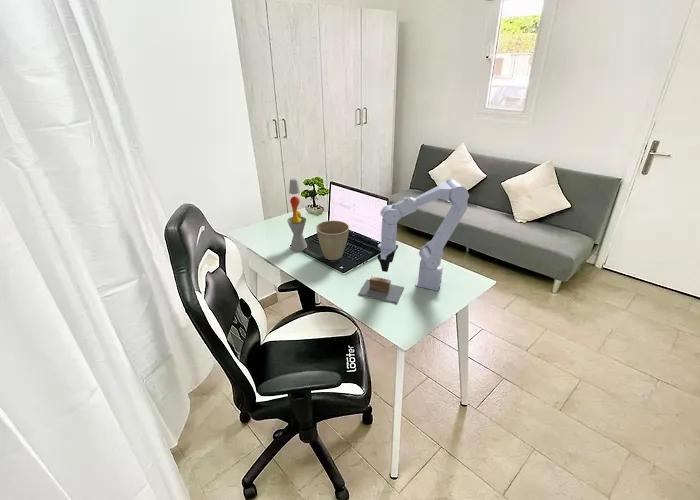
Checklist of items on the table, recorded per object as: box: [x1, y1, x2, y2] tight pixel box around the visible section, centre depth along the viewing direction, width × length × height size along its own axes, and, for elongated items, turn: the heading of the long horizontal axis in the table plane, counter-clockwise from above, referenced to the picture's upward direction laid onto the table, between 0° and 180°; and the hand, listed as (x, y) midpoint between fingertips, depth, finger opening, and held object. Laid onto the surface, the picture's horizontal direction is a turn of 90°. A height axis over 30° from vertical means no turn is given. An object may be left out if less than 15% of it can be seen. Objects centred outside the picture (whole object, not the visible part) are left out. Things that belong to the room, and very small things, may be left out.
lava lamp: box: [287, 178, 308, 253], centre depth 169 cm, size 9×9×35 cm
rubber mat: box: [358, 279, 405, 304], centre depth 144 cm, size 16×11×1 cm
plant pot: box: [315, 220, 350, 261], centre depth 164 cm, size 15×15×16 cm
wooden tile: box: [369, 275, 392, 294], centre depth 143 cm, size 2×8×5 cm, turn 69°
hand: (387, 266), depth 143 cm, fingers open, 7 cm apart
